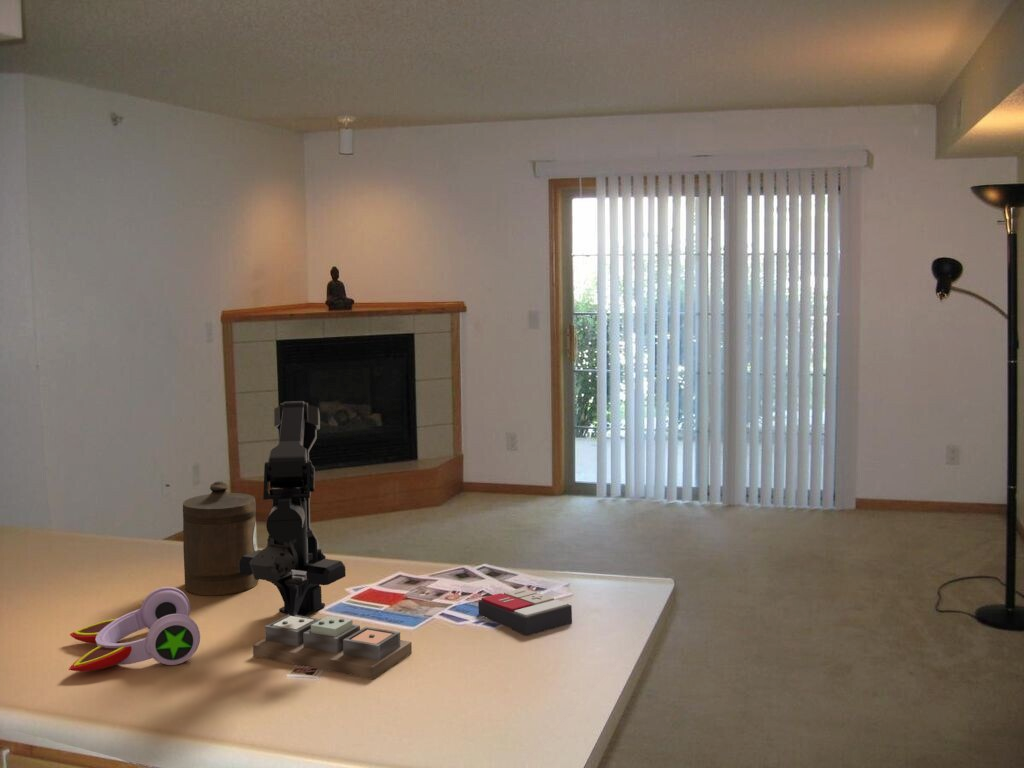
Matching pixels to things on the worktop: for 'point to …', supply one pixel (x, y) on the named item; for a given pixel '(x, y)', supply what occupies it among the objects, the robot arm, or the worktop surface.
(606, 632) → the worktop surface
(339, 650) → the button panel
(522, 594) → the calculator
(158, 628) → the headphones
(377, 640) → the button terracotta
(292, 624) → the button cream
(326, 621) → the button sage
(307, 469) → the robot arm
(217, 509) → the wooden container
